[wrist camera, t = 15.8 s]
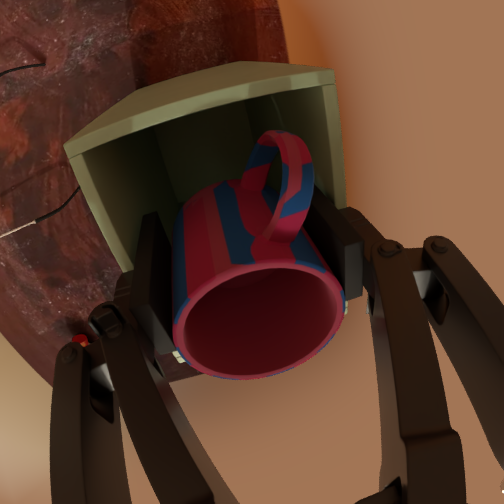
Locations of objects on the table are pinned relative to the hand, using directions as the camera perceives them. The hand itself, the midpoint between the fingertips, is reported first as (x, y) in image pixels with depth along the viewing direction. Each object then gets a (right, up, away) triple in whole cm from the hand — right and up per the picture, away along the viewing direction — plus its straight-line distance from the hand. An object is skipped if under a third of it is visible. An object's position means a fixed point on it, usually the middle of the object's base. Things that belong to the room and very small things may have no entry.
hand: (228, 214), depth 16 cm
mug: (+1, 0, +1) cm, 1 cm away
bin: (-4, +10, +14) cm, 17 cm away
